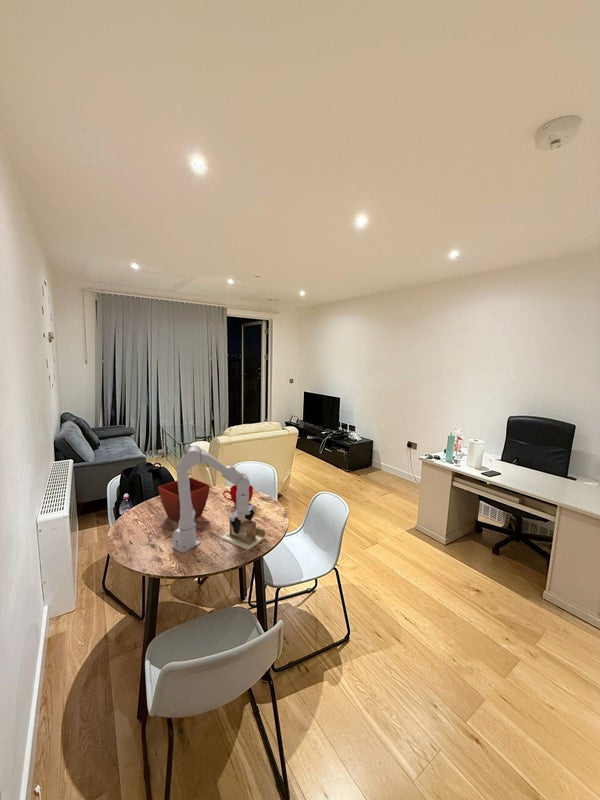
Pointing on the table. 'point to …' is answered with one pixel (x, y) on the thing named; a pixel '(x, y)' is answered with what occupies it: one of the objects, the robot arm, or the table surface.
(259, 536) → the tan rimmed flat piece
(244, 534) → the brown slab
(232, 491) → the ceramic cup
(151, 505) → the table surface
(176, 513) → the plant pot
